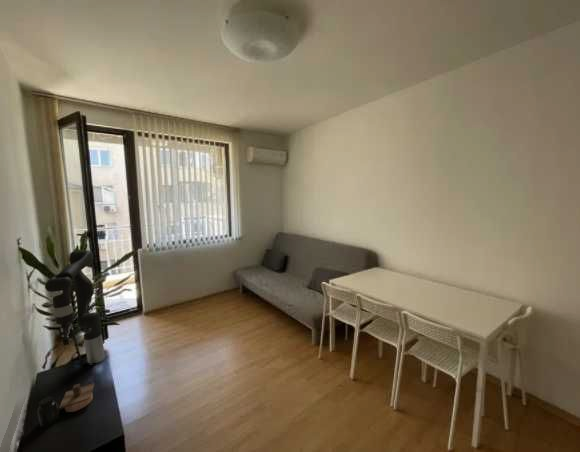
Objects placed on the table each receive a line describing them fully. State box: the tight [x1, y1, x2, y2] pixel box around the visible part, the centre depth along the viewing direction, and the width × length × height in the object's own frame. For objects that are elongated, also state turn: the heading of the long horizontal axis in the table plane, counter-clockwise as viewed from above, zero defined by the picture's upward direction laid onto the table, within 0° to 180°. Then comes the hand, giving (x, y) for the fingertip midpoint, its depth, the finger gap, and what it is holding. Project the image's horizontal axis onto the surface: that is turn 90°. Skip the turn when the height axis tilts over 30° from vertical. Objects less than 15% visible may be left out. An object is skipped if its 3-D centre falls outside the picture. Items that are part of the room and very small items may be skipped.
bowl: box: [64, 392, 94, 413], centre depth 131 cm, size 11×11×5 cm
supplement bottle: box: [37, 396, 60, 428], centre depth 121 cm, size 7×7×12 cm
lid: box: [58, 382, 95, 410], centre depth 130 cm, size 12×12×6 cm
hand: (68, 340), depth 138 cm, fingers open, 8 cm apart
